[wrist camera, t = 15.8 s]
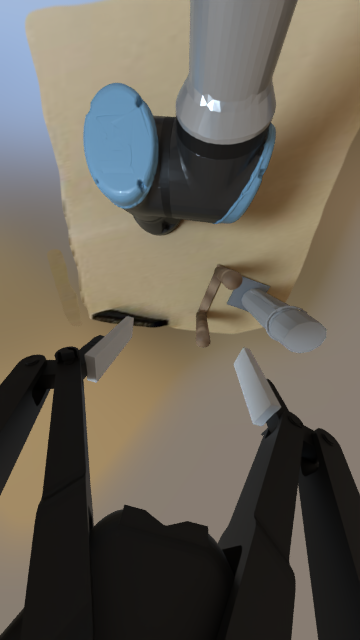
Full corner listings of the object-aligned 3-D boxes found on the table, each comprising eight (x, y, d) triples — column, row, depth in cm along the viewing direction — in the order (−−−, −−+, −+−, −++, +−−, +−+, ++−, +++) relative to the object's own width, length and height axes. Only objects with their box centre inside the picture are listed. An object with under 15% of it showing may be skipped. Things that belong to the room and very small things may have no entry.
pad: (240, 275, 44) (241, 276, 44) (269, 286, 45) (270, 286, 44) (226, 303, 49) (227, 304, 48) (252, 312, 49) (253, 313, 48)
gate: (216, 264, 44) (229, 269, 27) (227, 267, 44) (246, 275, 27) (194, 316, 52) (194, 344, 35) (203, 319, 52) (206, 349, 35)
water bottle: (267, 300, 46) (336, 343, 23) (245, 312, 49) (287, 361, 26) (256, 277, 43) (321, 301, 21) (233, 291, 46) (268, 325, 23)
